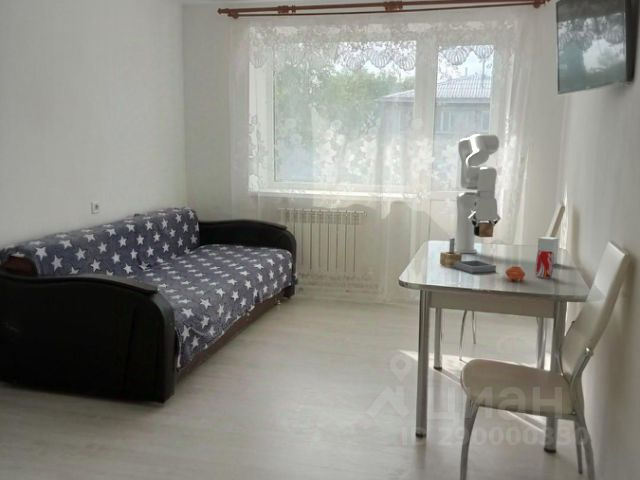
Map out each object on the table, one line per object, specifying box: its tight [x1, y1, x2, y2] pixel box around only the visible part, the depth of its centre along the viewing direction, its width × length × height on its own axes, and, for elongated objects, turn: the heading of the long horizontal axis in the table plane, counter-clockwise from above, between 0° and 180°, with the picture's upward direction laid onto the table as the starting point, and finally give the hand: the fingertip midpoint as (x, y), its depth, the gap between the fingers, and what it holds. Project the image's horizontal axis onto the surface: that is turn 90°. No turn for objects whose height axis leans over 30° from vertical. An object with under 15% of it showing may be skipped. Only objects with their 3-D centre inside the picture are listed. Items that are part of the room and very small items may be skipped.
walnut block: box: [475, 221, 494, 238], centre depth 267 cm, size 6×6×6 cm
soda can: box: [534, 249, 554, 279], centre depth 255 cm, size 7×7×12 cm
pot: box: [505, 265, 526, 283], centre depth 247 cm, size 8×8×7 cm
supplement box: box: [537, 236, 560, 265], centre depth 286 cm, size 7×7×13 cm
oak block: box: [439, 251, 463, 268], centre depth 277 cm, size 7×7×6 cm
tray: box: [453, 259, 497, 275], centre depth 267 cm, size 13×13×3 cm
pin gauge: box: [448, 237, 456, 254], centre depth 276 cm, size 2×2×12 cm
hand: (483, 234), depth 267 cm, fingers closed on walnut block, 6 cm apart
